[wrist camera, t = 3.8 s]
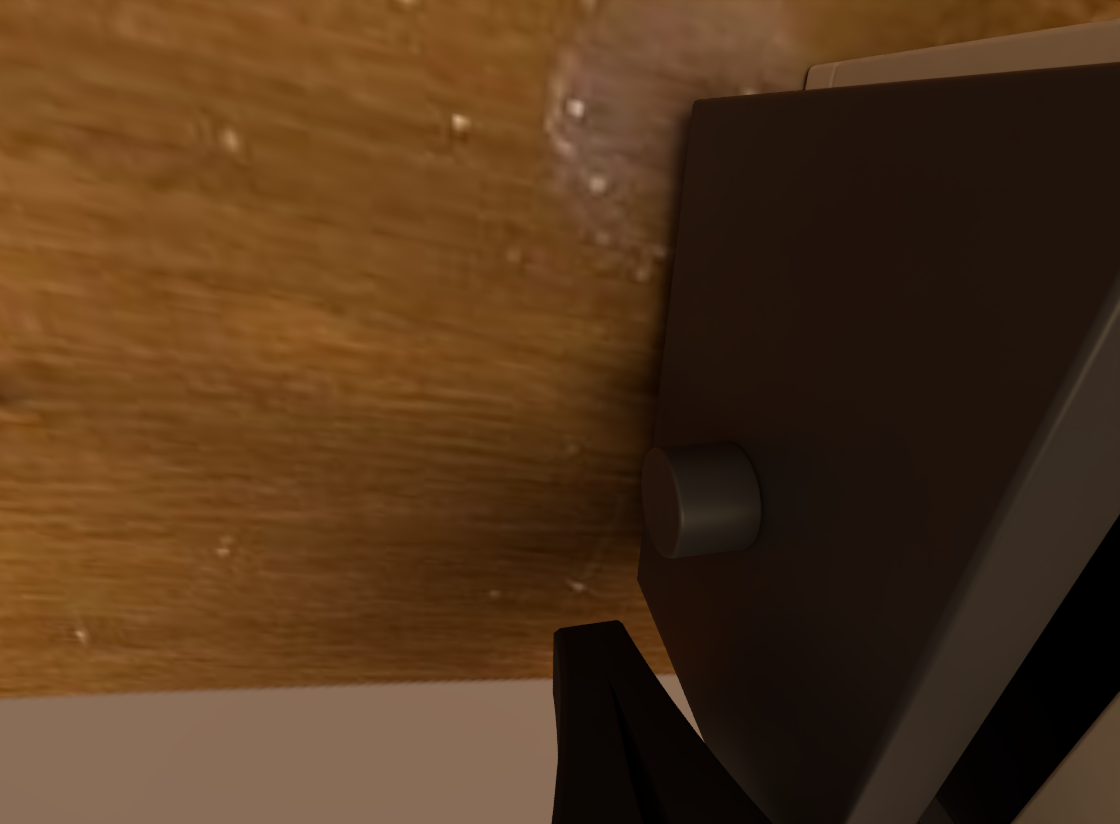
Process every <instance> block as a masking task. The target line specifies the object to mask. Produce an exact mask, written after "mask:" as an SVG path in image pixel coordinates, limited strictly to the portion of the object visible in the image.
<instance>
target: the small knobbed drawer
mask: <svg viewBox="0 0 1120 824" xmlns="http://www.w3.org/2000/svg"><path fill="white" fill-rule="evenodd" d="M641 491H642V503H643V510H644V515H645V517H644V525H643V534H642V542H641V551H640V559H639V568H638V576H637V580H638V583H639V585H640V587H641V590H642V592H643V595H644V597H645V600H646V602H647V604H648V607H649V609H650V612H651V614H652V616H653V619H654V621H655V624H656V626H657V629H658V631H659V633H660V636H661V638H662V641H663V643H664V646H665V648H666V650H667V653H668V655H669V658H670V660H671V662H672V665H673V667H674V670H675V672H676V675H677V677H678V679H679V682H680V684H681V686H682V689H683V691H684V694H685V696H686V699H687V701H688V704H689V706H690V708H691V711H692V713H693V716H694V718H695V721H696V723H697V725H698V728H699V730H700V733H701V735H702V737H703V740H704V742H705V744H706V745H707V747H708V748H709V749H710V750H711V752H712V753H713V754H714V755H715V757H716V758H717V759H718V760H719V762H720V763H721V764H722V765H723V766H724V768H725V769H726V770H727V771H728V773H729V774H730V775H731V776H732V777H733V779H734V780H735V781H736V782H737V783H738V784H739V786H740V787H741V788H742V789H743V790H744V792H745V793H746V794H747V795H748V796H749V797H750V798H751V800H752V801H753V802H754V803H755V804H756V805H757V806H758V808H759V809H760V810H761V811H762V812H763V813H764V814H765V815H766V816H767V817H768V819H769V820H770V821H771V822H772V823H773V824H916V823H917V822H918V821H919V822H920V824H1010V823H1011V822H1012V821H1013V820H1014V819H1015V817H1016V816H1017V815H1018V814H1019V813H1020V811H1021V810H1022V809H1023V808H1024V806H1025V805H1026V804H1027V803H1028V802H1029V800H1030V799H1031V798H1032V797H1033V795H1034V794H1035V793H1036V792H1037V791H1038V789H1039V788H1040V787H1041V786H1042V785H1043V783H1044V782H1045V781H1046V780H1047V778H1048V777H1049V776H1050V775H1051V774H1052V772H1053V771H1054V770H1055V769H1056V768H1057V766H1058V765H1059V764H1060V763H1061V761H1062V760H1063V759H1064V758H1065V757H1066V755H1067V754H1068V753H1069V752H1070V750H1071V749H1072V748H1073V747H1074V746H1075V744H1076V743H1077V742H1078V741H1079V740H1080V738H1081V737H1082V736H1083V735H1084V733H1085V732H1086V731H1087V730H1088V729H1089V727H1090V726H1091V725H1092V724H1093V722H1094V721H1095V720H1096V719H1097V718H1098V716H1099V715H1100V714H1101V713H1102V712H1103V710H1104V709H1105V708H1106V707H1107V705H1108V704H1109V703H1110V702H1111V701H1112V699H1113V698H1114V697H1115V696H1116V695H1117V693H1118V692H1119V691H1120V62H1111V63H1100V64H1089V65H1078V66H1067V67H1056V68H1045V69H1033V70H1022V71H1011V72H1000V73H989V74H978V75H967V76H955V77H944V78H933V79H922V80H911V81H900V82H888V83H877V84H866V85H855V86H844V87H833V88H822V89H810V90H799V91H788V92H777V93H766V94H755V95H743V96H732V97H721V98H710V99H699V100H697V101H695V102H694V104H693V109H692V117H691V126H690V134H689V143H688V151H687V160H686V168H685V177H684V185H683V194H682V202H681V211H680V219H679V228H678V236H677V245H676V253H675V262H674V270H673V279H672V287H671V296H670V304H669V313H668V321H667V330H666V338H665V347H664V355H663V364H662V372H661V381H660V389H659V398H658V406H657V415H656V423H655V432H654V440H653V449H651V450H650V451H649V452H648V453H647V455H646V457H645V460H644V464H643V469H642V479H641Z"/></svg>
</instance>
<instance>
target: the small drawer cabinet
mask: <svg viewBox="0 0 1120 824" xmlns="http://www.w3.org/2000/svg"><path fill="white" fill-rule="evenodd" d="M1111 62H1120V18H1116V19H1110V20H1103V21H1097V22H1090V23H1084V24H1077V25H1071V26H1065V27H1058V28H1052V29H1045V30H1039V31H1032V32H1026V33H1019V34H1013V35H1006V36H1000V37H994V38H987V39H981V40H974V41H968V42H961V43H955V44H948V45H942V46H935V47H929V48H923V49H916V50H910V51H903V52H897V53H890V54H884V55H877V56H871V57H864V58H858V59H851V60H845V61H842V62H832V63H826V64H820V65H815V66H812V67H811V68H810V70H809V73H808V78H807V83H806V88H805V90H810V89H822V88H833V87H844V86H855V85H866V84H877V83H888V82H900V81H911V80H922V79H933V78H944V77H955V76H967V75H978V74H989V73H1000V72H1011V71H1022V70H1033V69H1045V68H1056V67H1067V66H1078V65H1089V64H1100V63H1111ZM916 824H920V822H919V821H918V822H917V823H916ZM1010 824H1120V691H1119V692H1118V693H1117V695H1116V696H1115V697H1114V698H1113V699H1112V701H1111V702H1110V703H1109V704H1108V705H1107V707H1106V708H1105V709H1104V710H1103V712H1102V713H1101V714H1100V715H1099V716H1098V718H1097V719H1096V720H1095V721H1094V722H1093V724H1092V725H1091V726H1090V727H1089V729H1088V730H1087V731H1086V732H1085V733H1084V735H1083V736H1082V737H1081V738H1080V740H1079V741H1078V742H1077V743H1076V744H1075V746H1074V747H1073V748H1072V749H1071V750H1070V752H1069V753H1068V754H1067V755H1066V757H1065V758H1064V759H1063V760H1062V761H1061V763H1060V764H1059V765H1058V766H1057V768H1056V769H1055V770H1054V771H1053V772H1052V774H1051V775H1050V776H1049V777H1048V778H1047V780H1046V781H1045V782H1044V783H1043V785H1042V786H1041V787H1040V788H1039V789H1038V791H1037V792H1036V793H1035V794H1034V795H1033V797H1032V798H1031V799H1030V800H1029V802H1028V803H1027V804H1026V805H1025V806H1024V808H1023V809H1022V810H1021V811H1020V813H1019V814H1018V815H1017V816H1016V817H1015V819H1014V820H1013V821H1012V822H1011V823H1010Z"/></svg>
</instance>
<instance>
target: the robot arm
mask: <svg viewBox="0 0 1120 824" xmlns="http://www.w3.org/2000/svg"><path fill="white" fill-rule="evenodd" d="M553 698H554V705H555V715H556V727H557V744H558V766H557V776H556V786H555V797H554V807H553V816H552V824H773V823H772V822H771V821H770V820H769V819H768V817H767V816H766V815H765V814H764V813H763V812H762V811H761V810H760V809H759V808H758V806H757V805H756V804H755V803H754V802H753V801H752V800H751V798H750V797H749V796H748V795H747V794H746V793H745V792H744V790H743V789H742V788H741V787H740V786H739V784H738V783H737V782H736V781H735V780H734V779H733V777H732V776H731V775H730V774H729V773H728V771H727V770H726V769H725V768H724V766H723V765H722V764H721V763H720V762H719V760H718V759H717V758H716V757H715V755H714V754H713V753H712V752H711V750H710V749H709V748H708V747H707V745H706V744H705V743H704V742H703V740H702V739H701V738H700V736H699V735H698V734H697V733H696V731H695V730H694V729H693V727H692V726H691V725H690V723H689V722H688V721H687V719H686V718H685V717H684V715H683V714H682V712H681V711H680V710H679V709H678V708H677V706H676V704H675V703H674V702H673V701H672V699H671V698H670V696H669V695H668V693H667V692H666V691H665V689H664V688H663V686H662V685H661V684H660V682H659V680H658V679H657V678H656V676H655V675H654V673H653V672H652V670H651V669H650V667H649V666H648V664H647V663H646V661H645V660H644V658H643V656H642V655H641V653H640V652H639V650H638V649H637V647H636V645H635V644H634V642H633V641H632V639H631V637H630V636H629V634H628V632H627V631H626V629H625V627H624V625H623V624H622V623H621V622H620V621H618V620H614V621H607V622H600V623H593V624H586V625H579V626H572V627H565V628H559V629H558V630H557V631H556V632H555V633H554V649H553Z"/></svg>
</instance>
